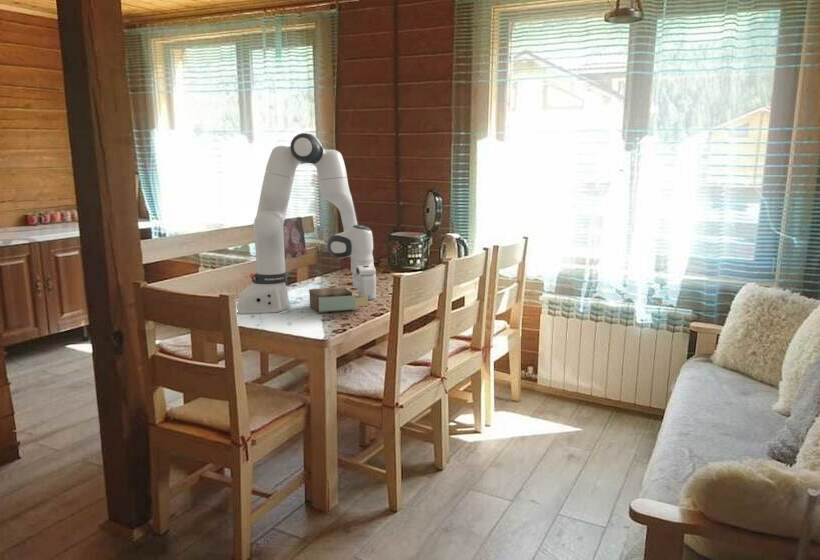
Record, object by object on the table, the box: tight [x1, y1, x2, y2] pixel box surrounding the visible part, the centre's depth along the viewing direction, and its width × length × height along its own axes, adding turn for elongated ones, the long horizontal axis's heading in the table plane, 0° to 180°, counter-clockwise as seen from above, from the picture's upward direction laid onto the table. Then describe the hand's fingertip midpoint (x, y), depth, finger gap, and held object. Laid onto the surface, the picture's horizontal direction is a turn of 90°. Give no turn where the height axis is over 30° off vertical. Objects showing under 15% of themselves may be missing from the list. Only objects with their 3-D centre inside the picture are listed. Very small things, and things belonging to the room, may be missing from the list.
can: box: [357, 273, 377, 301], centre depth 265 cm, size 8×8×12 cm
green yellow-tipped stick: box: [319, 294, 369, 312], centre depth 242 cm, size 19×1×5 cm, turn 106°
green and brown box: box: [308, 286, 353, 314], centre depth 248 cm, size 14×12×7 cm
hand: (363, 301), depth 246 cm, fingers closed
